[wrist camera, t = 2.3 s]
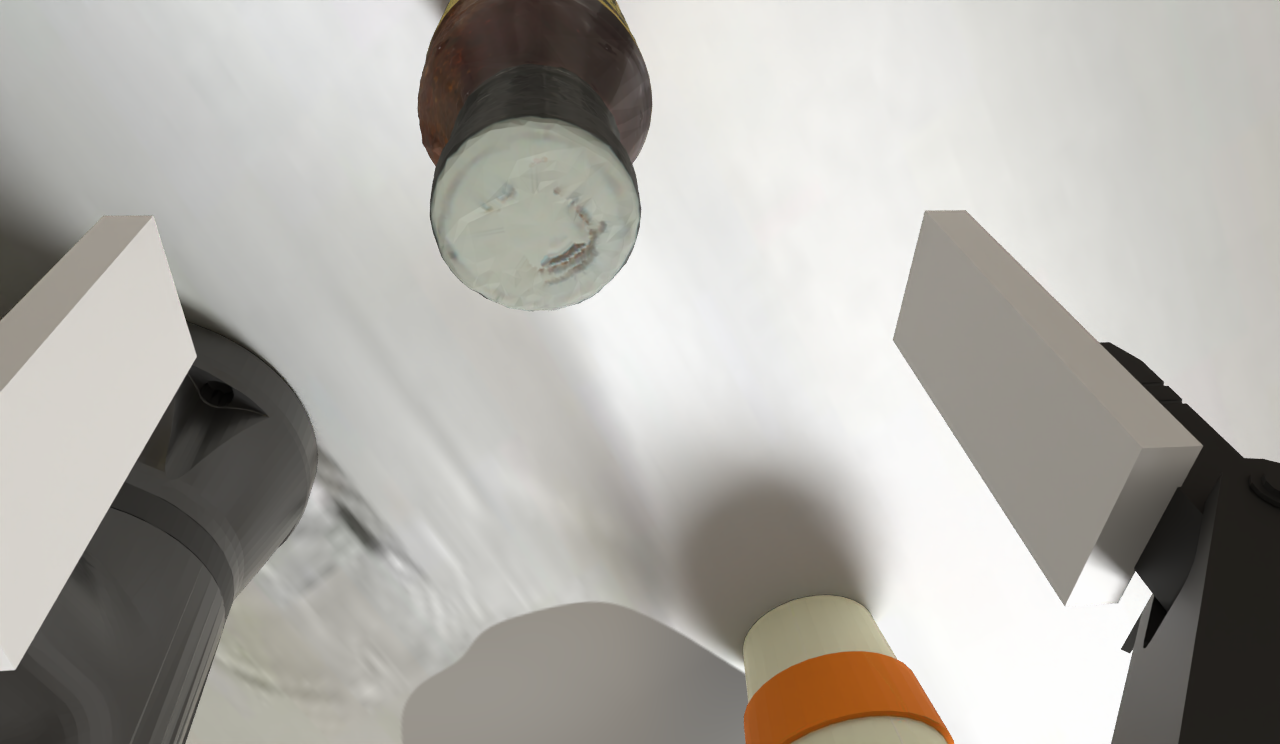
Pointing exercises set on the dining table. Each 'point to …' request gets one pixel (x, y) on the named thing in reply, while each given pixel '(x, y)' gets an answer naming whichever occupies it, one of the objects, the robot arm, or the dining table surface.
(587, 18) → the sauce bottle
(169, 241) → the dining table surface
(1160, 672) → the robot arm
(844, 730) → the reusable coffee cup
